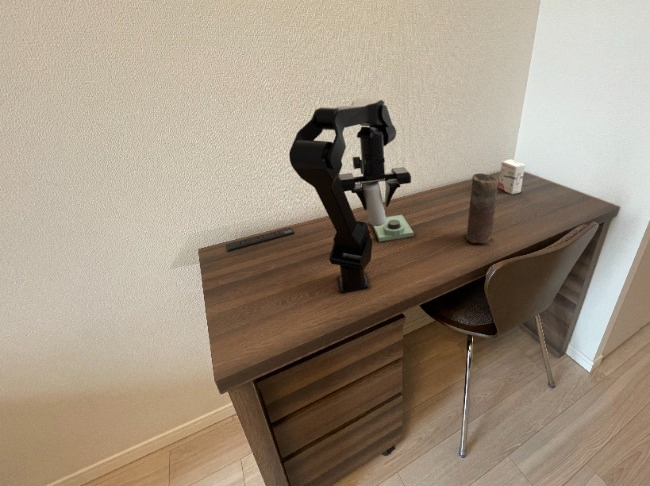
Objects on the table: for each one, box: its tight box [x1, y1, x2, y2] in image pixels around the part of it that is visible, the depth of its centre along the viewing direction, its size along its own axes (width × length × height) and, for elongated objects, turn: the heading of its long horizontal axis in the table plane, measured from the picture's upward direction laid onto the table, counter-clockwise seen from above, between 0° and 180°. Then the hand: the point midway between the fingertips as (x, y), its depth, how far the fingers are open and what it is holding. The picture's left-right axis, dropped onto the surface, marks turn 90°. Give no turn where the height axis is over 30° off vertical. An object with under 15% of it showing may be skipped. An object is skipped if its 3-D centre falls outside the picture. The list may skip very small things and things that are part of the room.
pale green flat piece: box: [371, 214, 415, 242], centre depth 103 cm, size 13×11×3 cm
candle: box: [466, 173, 499, 244], centre depth 93 cm, size 8×7×20 cm
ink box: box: [497, 159, 526, 195], centre depth 130 cm, size 9×5×12 cm, turn 25°
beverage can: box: [361, 182, 387, 227], centre depth 87 cm, size 5×5×12 cm
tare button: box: [388, 220, 400, 229], centre depth 100 cm, size 4×4×2 cm
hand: (375, 208), depth 88 cm, fingers closed on beverage can, 6 cm apart
